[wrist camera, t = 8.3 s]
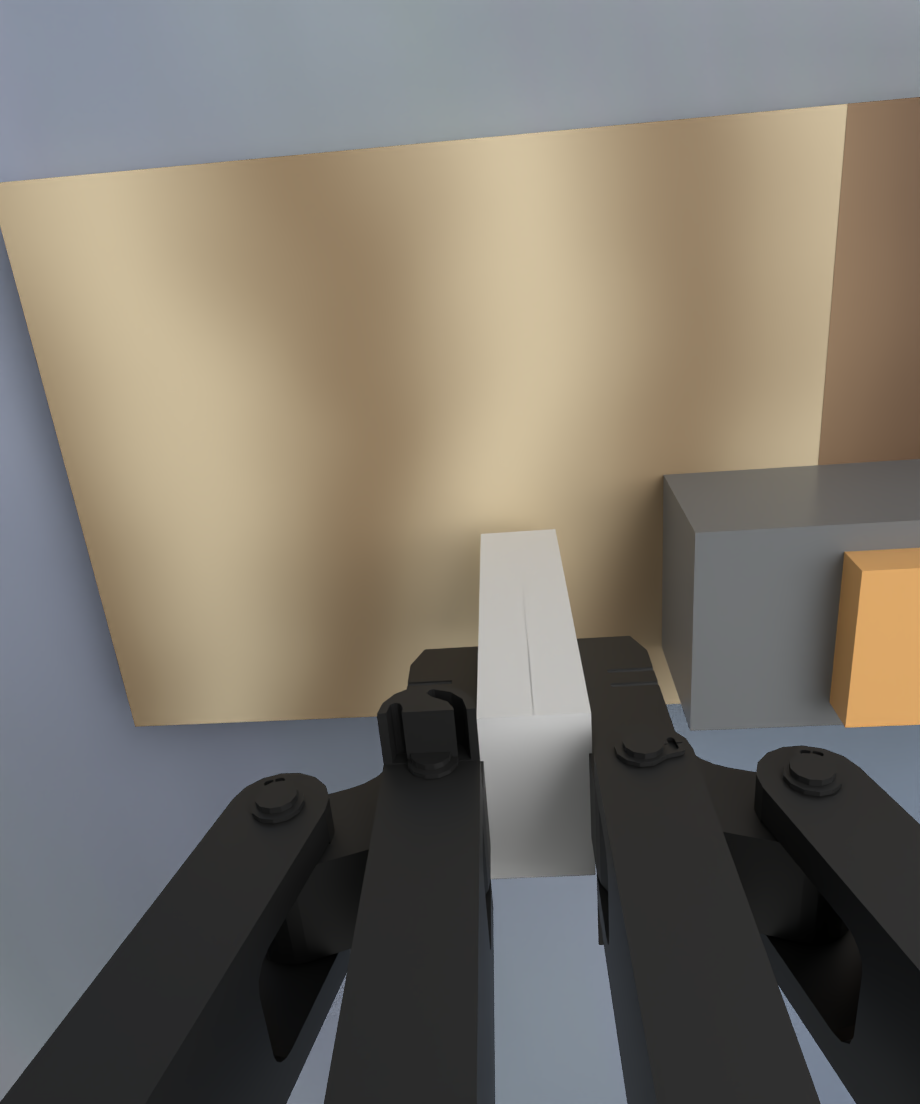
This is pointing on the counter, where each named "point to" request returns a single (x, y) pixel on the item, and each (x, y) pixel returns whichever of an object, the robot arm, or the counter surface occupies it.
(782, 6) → the counter surface
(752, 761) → the counter surface
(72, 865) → the counter surface
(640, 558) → the plywood panel
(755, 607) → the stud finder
